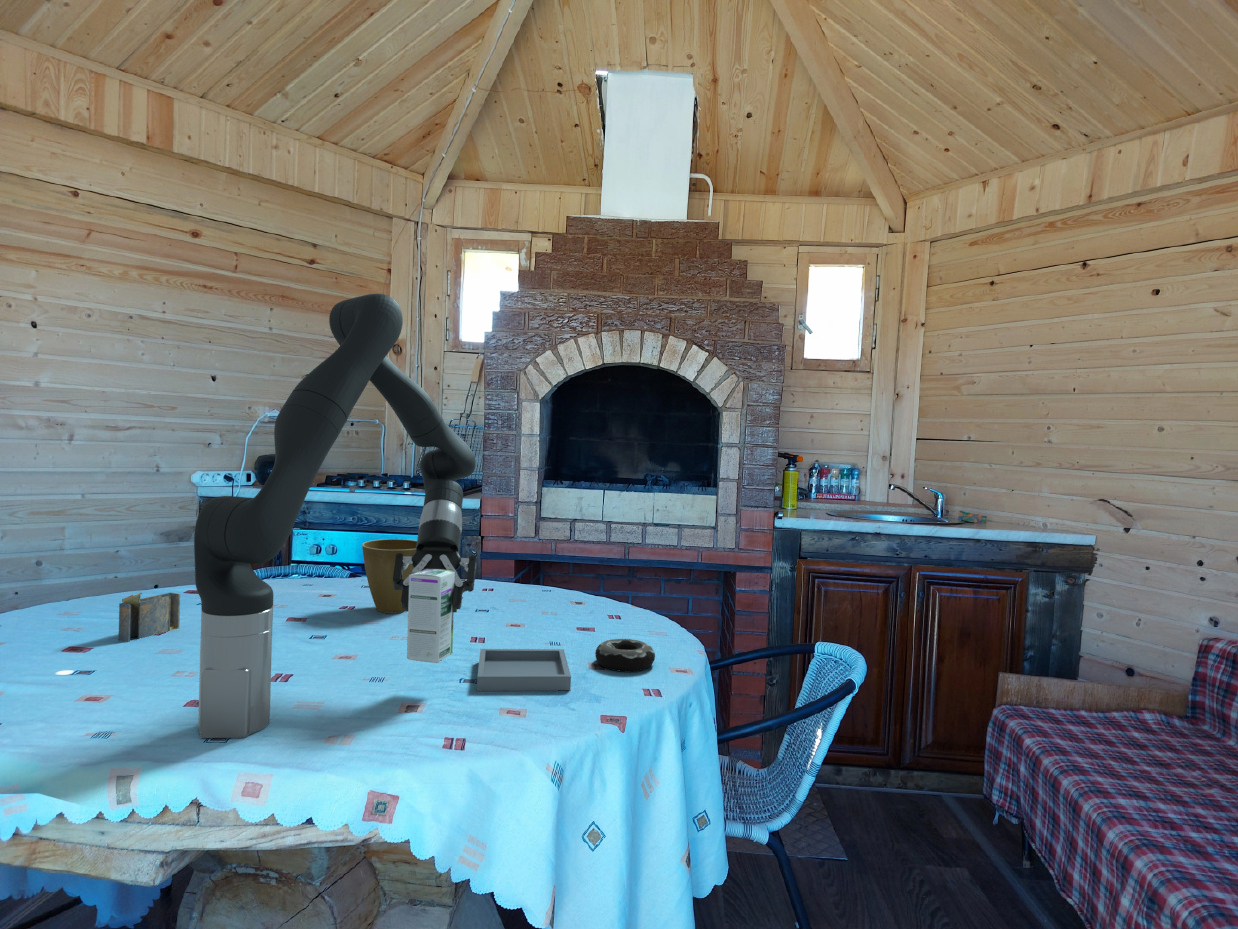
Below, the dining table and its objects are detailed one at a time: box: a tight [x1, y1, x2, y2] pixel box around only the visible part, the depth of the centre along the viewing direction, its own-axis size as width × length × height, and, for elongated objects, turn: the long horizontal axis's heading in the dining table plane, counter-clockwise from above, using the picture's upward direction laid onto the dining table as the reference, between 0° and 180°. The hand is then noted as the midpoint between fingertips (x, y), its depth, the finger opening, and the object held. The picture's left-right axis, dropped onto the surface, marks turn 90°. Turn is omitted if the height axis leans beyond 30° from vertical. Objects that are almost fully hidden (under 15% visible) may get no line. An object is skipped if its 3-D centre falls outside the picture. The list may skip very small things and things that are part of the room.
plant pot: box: [361, 538, 417, 614], centre depth 178 cm, size 15×15×16 cm
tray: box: [476, 648, 572, 692], centre depth 136 cm, size 16×16×2 cm
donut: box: [595, 638, 656, 672], centre depth 146 cm, size 12×12×4 cm
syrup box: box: [406, 569, 455, 664], centre depth 125 cm, size 6×6×14 cm
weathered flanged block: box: [118, 592, 181, 643], centre depth 150 cm, size 11×3×10 cm, turn 162°
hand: (430, 609), depth 124 cm, fingers closed on syrup box, 7 cm apart
